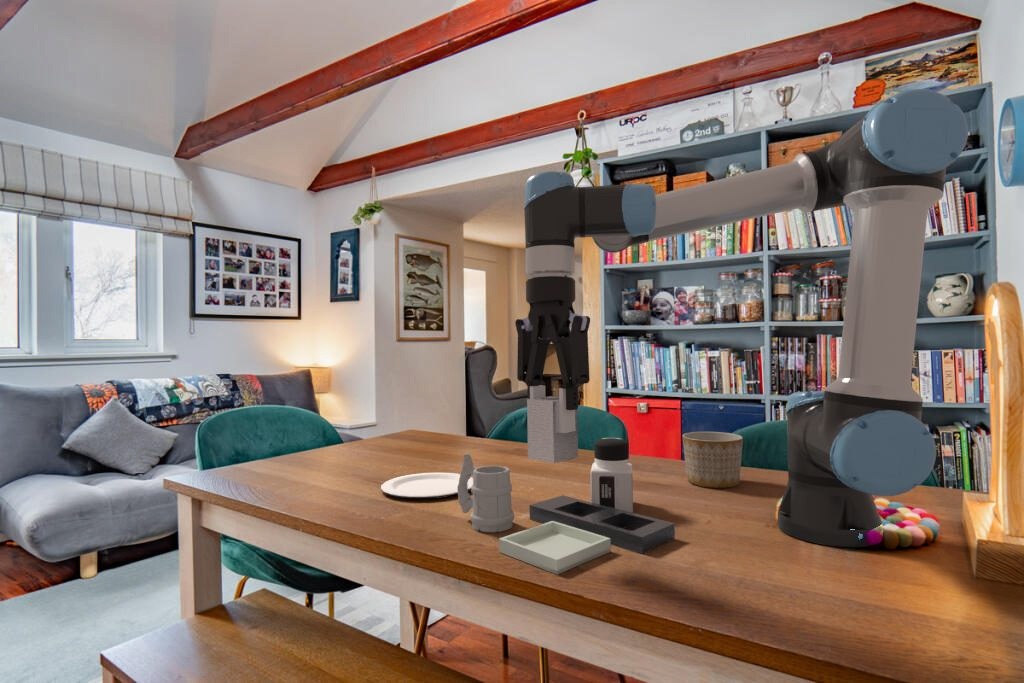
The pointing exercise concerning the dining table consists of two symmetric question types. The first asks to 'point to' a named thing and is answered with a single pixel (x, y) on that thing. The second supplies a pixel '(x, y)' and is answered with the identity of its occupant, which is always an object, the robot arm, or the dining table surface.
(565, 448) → the tall square peg
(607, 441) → the container
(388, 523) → the dining table surface
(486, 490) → the mug
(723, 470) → the planter
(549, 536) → the tray
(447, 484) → the plate
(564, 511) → the peg socket board
